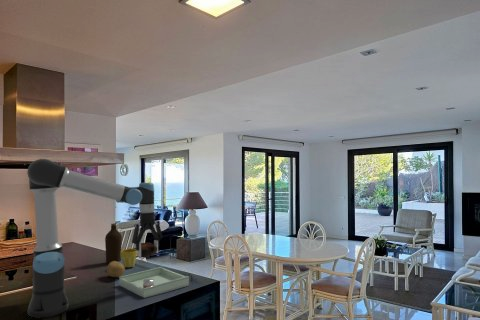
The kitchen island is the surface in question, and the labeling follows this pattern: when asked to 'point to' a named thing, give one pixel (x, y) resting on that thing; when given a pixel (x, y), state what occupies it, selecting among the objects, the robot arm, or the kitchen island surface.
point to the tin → (148, 283)
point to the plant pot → (129, 257)
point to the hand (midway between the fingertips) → (147, 254)
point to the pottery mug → (147, 250)
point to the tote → (162, 282)
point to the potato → (115, 269)
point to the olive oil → (113, 244)
